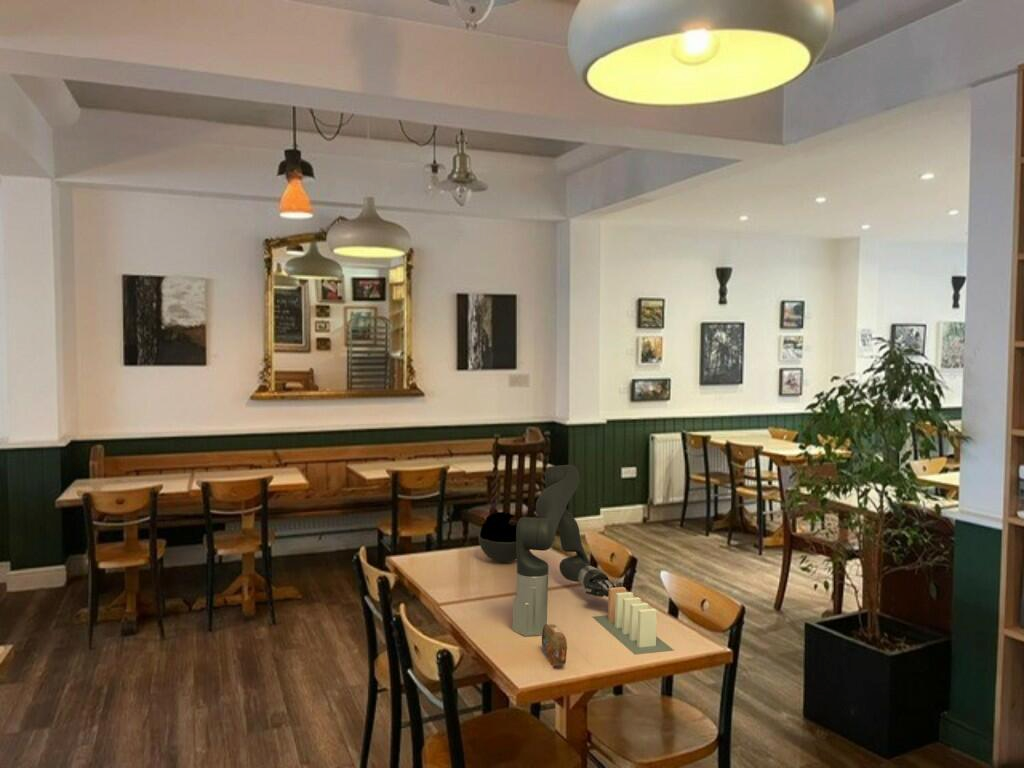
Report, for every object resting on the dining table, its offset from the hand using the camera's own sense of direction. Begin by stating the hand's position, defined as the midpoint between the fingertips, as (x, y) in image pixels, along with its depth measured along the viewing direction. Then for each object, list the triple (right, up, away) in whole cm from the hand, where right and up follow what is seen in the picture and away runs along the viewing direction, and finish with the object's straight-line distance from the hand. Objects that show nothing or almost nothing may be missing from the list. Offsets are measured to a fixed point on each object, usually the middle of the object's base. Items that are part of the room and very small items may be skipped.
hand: (615, 596), depth 232 cm
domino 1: (0, -7, -1) cm, 7 cm away
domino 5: (+6, -8, -20) cm, 22 cm away
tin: (-21, -9, -30) cm, 37 cm away
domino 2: (+2, -7, -5) cm, 9 cm away
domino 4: (+4, -8, -15) cm, 17 cm away
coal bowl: (-35, -4, +63) cm, 72 cm away
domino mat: (+3, -8, -10) cm, 13 cm away
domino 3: (+3, -8, -10) cm, 13 cm away
